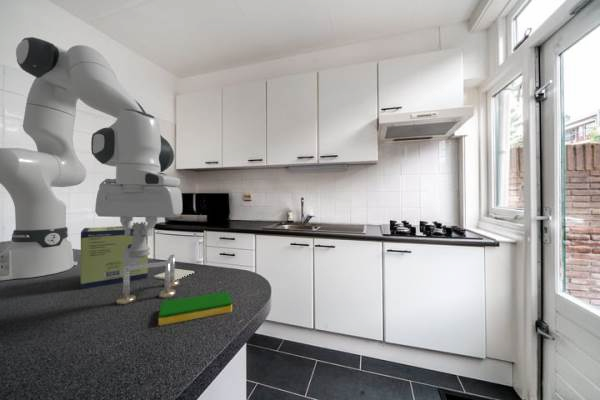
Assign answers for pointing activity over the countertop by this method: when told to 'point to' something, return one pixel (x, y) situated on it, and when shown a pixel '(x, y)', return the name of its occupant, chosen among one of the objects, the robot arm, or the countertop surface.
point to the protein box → (107, 257)
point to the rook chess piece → (138, 242)
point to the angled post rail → (168, 265)
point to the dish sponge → (194, 307)
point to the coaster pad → (178, 274)
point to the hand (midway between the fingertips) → (138, 236)
